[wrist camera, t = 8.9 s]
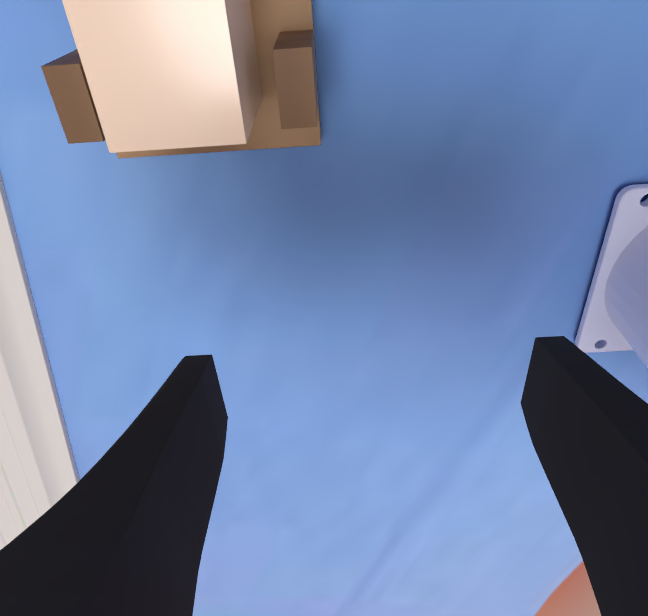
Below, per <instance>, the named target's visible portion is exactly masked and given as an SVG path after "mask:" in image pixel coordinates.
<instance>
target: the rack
mask: <svg viewBox="0 0 648 616" xmlns="http://www.w3.org/2000/svg"><path fill="white" fill-rule="evenodd" d="M250 5H251V13H252V20H253V28H254V36H255V44H256V52H257V59H258V67H259V75H260V83H261V91H262V101H261V104H260V106H259V109H258V112H257V115H256V118H255V121H254V123H253V126H252V129H251V132H250V135H249V138H248V140H247V143H246V144H236V145H221V146H206V147H191V148H176V149H161V150H146V151H131V152H116V153H117V156H118V158H131V157H146V156H162V155H177V154H192V153H207V152H222V151H238V150H253V149H268V148H283V147H298V146H314V145H321V131H320V116H319V101H318V86H317V71H316V57H315V42H314V27H313V12H312V0H250ZM41 67H42V70H43V73H44V76H45V79H46V82H47V84H48V87H49V90H50V93H51V96H52V98H53V101H54V104H55V107H56V110H57V113H58V115H59V118H60V121H61V124H62V127H63V130H64V132H65V135H66V138H67V141H68V144H69V143H84V142H99V141H104V140H105V136H104V133H103V130H102V127H101V123H100V120H99V117H98V114H97V110H96V107H95V104H94V101H93V98H92V94H91V91H90V88H89V85H88V82H87V78H86V75H85V72H84V69H83V66H82V62H81V59H80V56H79V53H78V49H77V50H75V51H73V52H71V53H69V54H66V55H64V56H62V57H60V58H58V59H56V60H54V61H52V62H49V63H47V64H45V65H43V66H41Z"/></svg>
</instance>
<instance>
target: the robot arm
mask: <svg viewBox="0 0 648 616" xmlns="http://www.w3.org/2000/svg"><path fill="white" fill-rule="evenodd" d="M646 194H648V184H637V185H630V186H627V187H625V188H623V189H622V190H621V191H620V192H619V193H618V195H617V197H616V199H615V203H614V206H613V210H612V213H611V217H610V220H609V224H608V227H607V231H606V234H605V238H604V241H603V245H602V248H601V252H600V255H599V259H598V262H597V266H596V269H595V273H594V276H593V280H592V283H591V287H590V290H589V294H588V297H587V301H586V304H585V308H584V311H583V315H582V318H581V322H580V326H579V329H578V333H577V336H576V340H575V344H576V345H574V344H573V343H572V342H571V341H569V340H568V339H567V338H565V337H564V336H555V337H537V338H535V342H534V346H533V351H532V355H531V360H530V364H529V369H528V373H527V378H526V382H525V386H524V391H523V395H522V400H521V406H522V409H523V413H524V416H525V420H526V424H527V427H528V430H529V433H530V437H531V440H532V443H533V446H534V448H535V450H536V453H537V455H538V457H539V460H540V462H541V464H542V467H543V469H544V471H545V473H546V476H547V478H548V480H549V482H550V485H551V487H552V489H553V491H554V493H555V496H556V498H557V500H558V502H559V505H560V507H561V509H562V511H563V514H564V516H565V518H566V520H567V522H568V525H569V527H570V529H571V531H572V534H573V536H574V538H575V541H576V543H577V546H578V548H579V551H580V553H581V556H582V558H583V561H584V564H585V567H586V570H587V573H588V576H589V579H590V582H591V585H592V588H593V591H594V594H595V597H596V600H597V603H598V606H599V609H600V612H601V616H648V404H647V403H646V402H645V401H643V400H642V399H641V398H640V397H638V396H637V395H636V394H634V393H633V392H632V391H631V390H629V389H628V388H627V387H626V386H624V385H623V384H622V383H621V382H619V381H618V380H617V379H616V378H614V377H613V376H612V375H611V374H610V373H608V372H607V371H606V370H605V369H603V368H602V367H601V366H600V365H599V364H597V363H596V362H595V361H594V360H593V359H591V358H590V357H589V356H588V355H587V354H585V353H590V352H609V351H628V350H634V351H635V353H636V354H637V355H638V356H639V358H640V359H641V360H642V362H643V363H644V364H645V366H646V367H647V368H648V198H647V199H646V200H645V201H643V202H640V200H641V198H642V197H643V196H644V195H646ZM599 340H602V341H600V342H599V343H596V342H598V341H599ZM584 352H585V353H584ZM227 420H228V416H227V412H226V408H225V404H224V401H223V397H222V393H221V389H220V385H219V381H218V377H217V373H216V369H215V365H214V361H213V357H212V355H197V356H185V357H184V358H183V359H182V360H181V361H180V363H179V364H178V365H177V367H176V368H175V369H174V371H173V372H172V373H171V375H170V376H169V377H168V379H167V380H166V381H165V382H164V384H163V385H162V386H161V388H160V389H159V390H158V392H157V393H156V394H155V395H154V397H153V398H152V399H151V401H150V402H149V403H148V404H147V406H146V407H145V408H144V409H143V410H142V412H141V413H140V414H139V415H138V417H137V418H136V419H135V420H134V421H133V423H132V424H131V425H130V426H129V427H128V429H127V430H126V431H125V432H124V433H123V434H122V436H121V437H120V438H119V439H118V440H117V441H116V442H115V443H114V444H113V446H112V447H111V448H110V449H109V450H108V451H107V452H106V453H105V455H104V456H103V457H102V458H101V459H100V460H99V461H98V462H97V463H96V464H95V465H94V466H93V467H92V468H91V469H90V471H89V472H88V473H87V474H86V475H85V476H84V477H83V478H82V479H81V480H80V481H79V482H78V483H77V484H76V485H75V486H74V487H72V488H71V489H70V490H69V491H68V492H67V493H66V494H65V495H64V496H63V497H62V498H61V499H60V500H59V501H58V502H57V503H56V504H54V505H53V506H52V507H51V508H50V509H49V510H48V511H47V512H45V513H44V514H43V515H42V516H41V517H39V518H38V519H37V520H36V521H35V522H34V523H32V524H31V525H30V526H29V527H28V528H26V529H25V530H24V531H23V532H22V533H21V534H19V535H18V536H17V537H16V538H15V539H13V540H12V541H11V542H10V543H9V544H7V545H6V546H5V547H4V548H2V549H1V550H0V616H192V614H193V606H194V599H195V591H196V584H197V576H198V570H199V565H200V560H201V554H202V550H203V545H204V541H205V537H206V533H207V528H208V524H209V520H210V515H211V511H212V507H213V503H214V498H215V494H216V490H217V485H218V481H219V476H220V472H221V468H222V463H223V458H224V450H225V441H226V430H227Z"/></svg>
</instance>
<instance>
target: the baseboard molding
mask: <svg viewBox="0 0 648 616" xmlns="http://www.w3.org/2000/svg"><path fill="white" fill-rule="evenodd" d="M79 481H80V480H79V476H78V472H77V468H76V464H75V460H74V456H73V452H72V448H71V445H70V441H69V437H68V433H67V429H66V425H65V421H64V417H63V414H62V410H61V406H60V402H59V398H58V394H57V390H56V386H55V383H54V379H53V375H52V371H51V367H50V363H49V359H48V355H47V352H46V348H45V344H44V340H43V336H42V332H41V328H40V324H39V321H38V317H37V313H36V309H35V305H34V301H33V297H32V293H31V290H30V286H29V282H28V278H27V274H26V270H25V266H24V262H23V258H22V255H21V251H20V247H19V243H18V239H17V235H16V231H15V227H14V224H13V220H12V216H11V212H10V208H9V204H8V200H7V196H6V193H5V189H4V185H3V181H2V177H1V173H0V550H1V549H2V548H4V547H5V546H6V545H7V544H9V543H10V542H11V541H12V540H13V539H15V538H16V537H17V536H18V535H19V534H21V533H22V532H23V531H24V530H25V529H26V528H28V527H29V526H30V525H31V524H32V523H34V522H35V521H36V520H37V519H38V518H39V517H41V516H42V515H43V514H44V513H45V512H47V511H48V510H49V509H50V508H51V507H52V506H53V505H54V504H56V503H57V502H58V501H59V500H60V499H61V498H62V497H63V496H64V495H65V494H66V493H67V492H68V491H69V490H70V489H71V488H72V487H74V486H75V485H76V484H77V483H78V482H79Z"/></svg>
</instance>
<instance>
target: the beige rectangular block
mask: <svg viewBox="0 0 648 616" xmlns="http://www.w3.org/2000/svg"><path fill="white" fill-rule="evenodd" d="M62 1H63V4H64V8H65V11H66V14H67V17H68V21H69V24H70V27H71V30H72V33H73V37H74V40H75V43H76V46H77V49H78V53H79V56H80V59H81V62H82V66H83V69H84V72H85V75H86V78H87V82H88V85H89V88H90V91H91V94H92V98H93V101H94V104H95V107H96V110H97V114H98V117H99V120H100V123H101V127H102V130H103V133H104V136H105V139H106V143H107V146H108V149H109V152H110V153H116V152H131V151H146V150H161V149H176V148H191V147H206V146H221V145H236V144H246V143H247V140H248V138H249V135H250V132H251V129H252V126H253V123H254V121H255V118H256V115H257V112H258V109H259V106H260V104H261V101H262V91H261V83H260V75H259V67H258V59H257V52H256V44H255V36H254V28H253V20H252V13H251V5H250V0H62Z"/></svg>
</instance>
